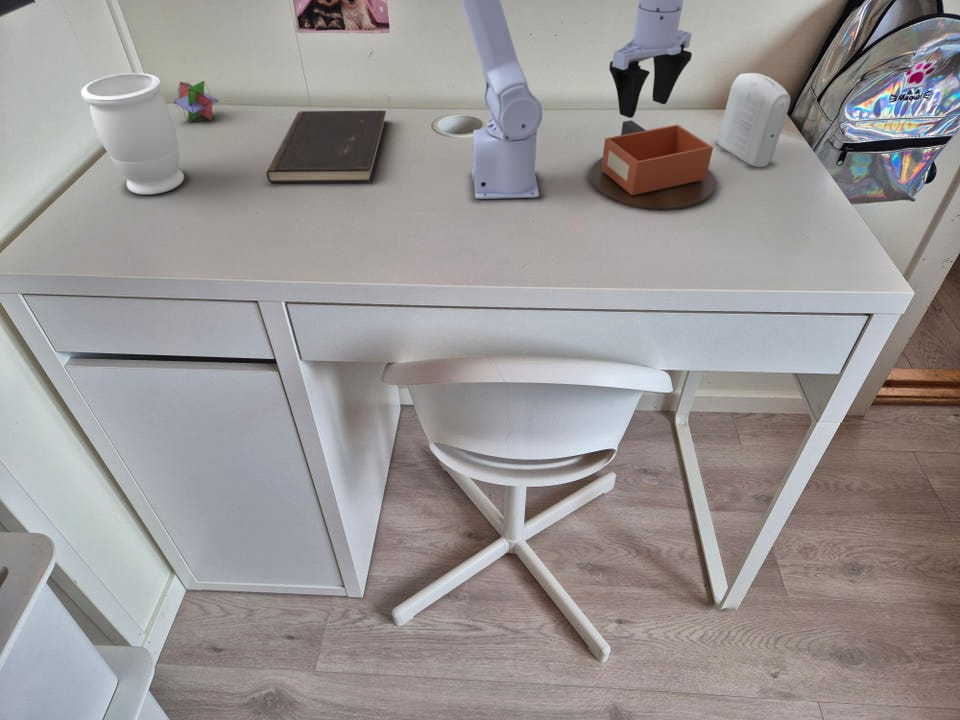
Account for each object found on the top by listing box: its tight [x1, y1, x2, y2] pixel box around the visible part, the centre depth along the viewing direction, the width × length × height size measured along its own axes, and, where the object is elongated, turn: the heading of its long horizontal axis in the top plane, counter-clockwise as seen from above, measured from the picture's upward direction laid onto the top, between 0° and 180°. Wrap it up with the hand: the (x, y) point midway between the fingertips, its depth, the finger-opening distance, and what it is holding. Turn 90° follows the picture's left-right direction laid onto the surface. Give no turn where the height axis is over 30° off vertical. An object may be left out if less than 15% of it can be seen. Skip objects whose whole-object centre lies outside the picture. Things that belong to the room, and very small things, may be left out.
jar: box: [80, 72, 185, 196], centre depth 97 cm, size 11×10×15 cm
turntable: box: [589, 157, 717, 212], centre depth 101 cm, size 19×19×1 cm
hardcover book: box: [266, 110, 388, 185], centre depth 109 cm, size 16×23×2 cm
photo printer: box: [717, 72, 791, 168], centre depth 103 cm, size 10×4×12 cm, turn 23°
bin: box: [601, 119, 714, 195], centre depth 100 cm, size 13×13×5 cm
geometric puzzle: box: [172, 80, 219, 123], centre depth 118 cm, size 7×7×8 cm
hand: (643, 108), depth 96 cm, fingers open, 7 cm apart
